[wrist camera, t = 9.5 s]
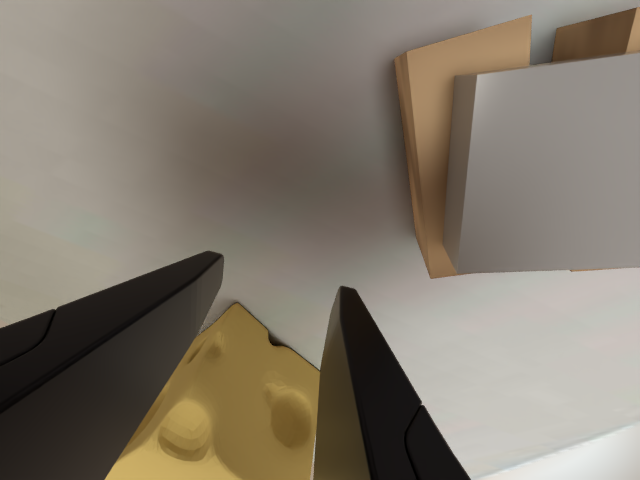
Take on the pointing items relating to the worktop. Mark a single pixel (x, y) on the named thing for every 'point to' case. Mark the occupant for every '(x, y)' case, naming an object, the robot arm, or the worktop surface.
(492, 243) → the slab
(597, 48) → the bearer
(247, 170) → the worktop surface
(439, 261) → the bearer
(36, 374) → the robot arm
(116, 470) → the cheese
